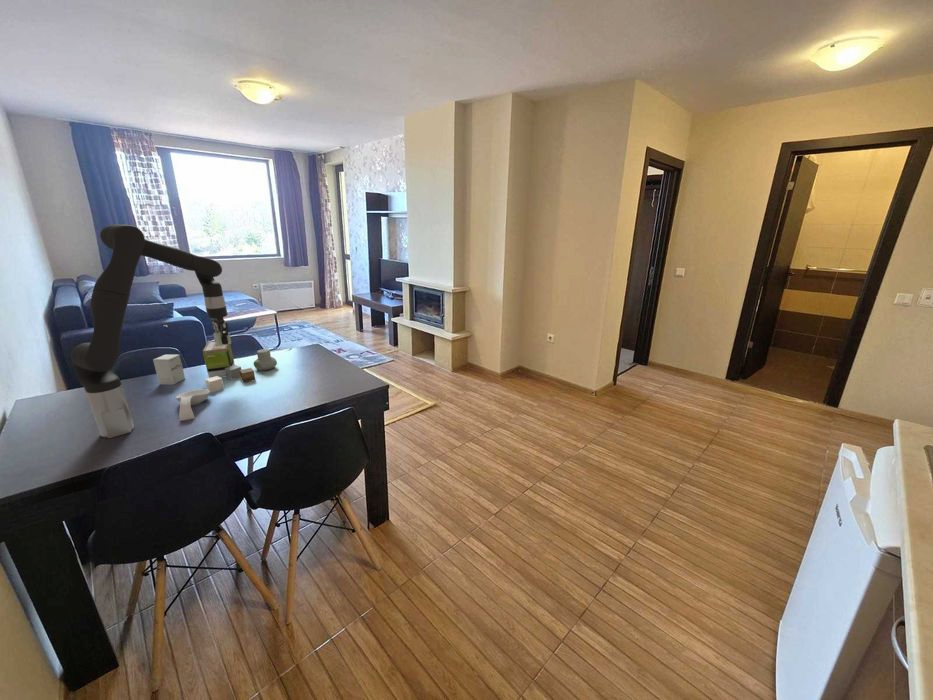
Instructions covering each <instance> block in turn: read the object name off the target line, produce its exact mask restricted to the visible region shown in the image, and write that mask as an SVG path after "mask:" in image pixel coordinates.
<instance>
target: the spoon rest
mask: <svg viewBox="0 0 933 700" xmlns="http://www.w3.org/2000/svg"><path fill="white" fill-rule="evenodd" d="M210 394H211V391H210V390H208V389H207V388H204V389H203V388H202V389H196V390H195V389H194V390H189V391H186V392H183V393H180V394H178V395H176V397H175V399H176V400H177V401H178V402H179V412H178V413H179V416H178V419H179V421H181V422H182V421H183V422H184V421H190V420H193V419H195V417H196V416H195V415H194V412H193V409H192V407H191V406H197V405H199V404H202V403H203V402H204V401H206V400H207V398H209V396H210Z"/></svg>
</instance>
